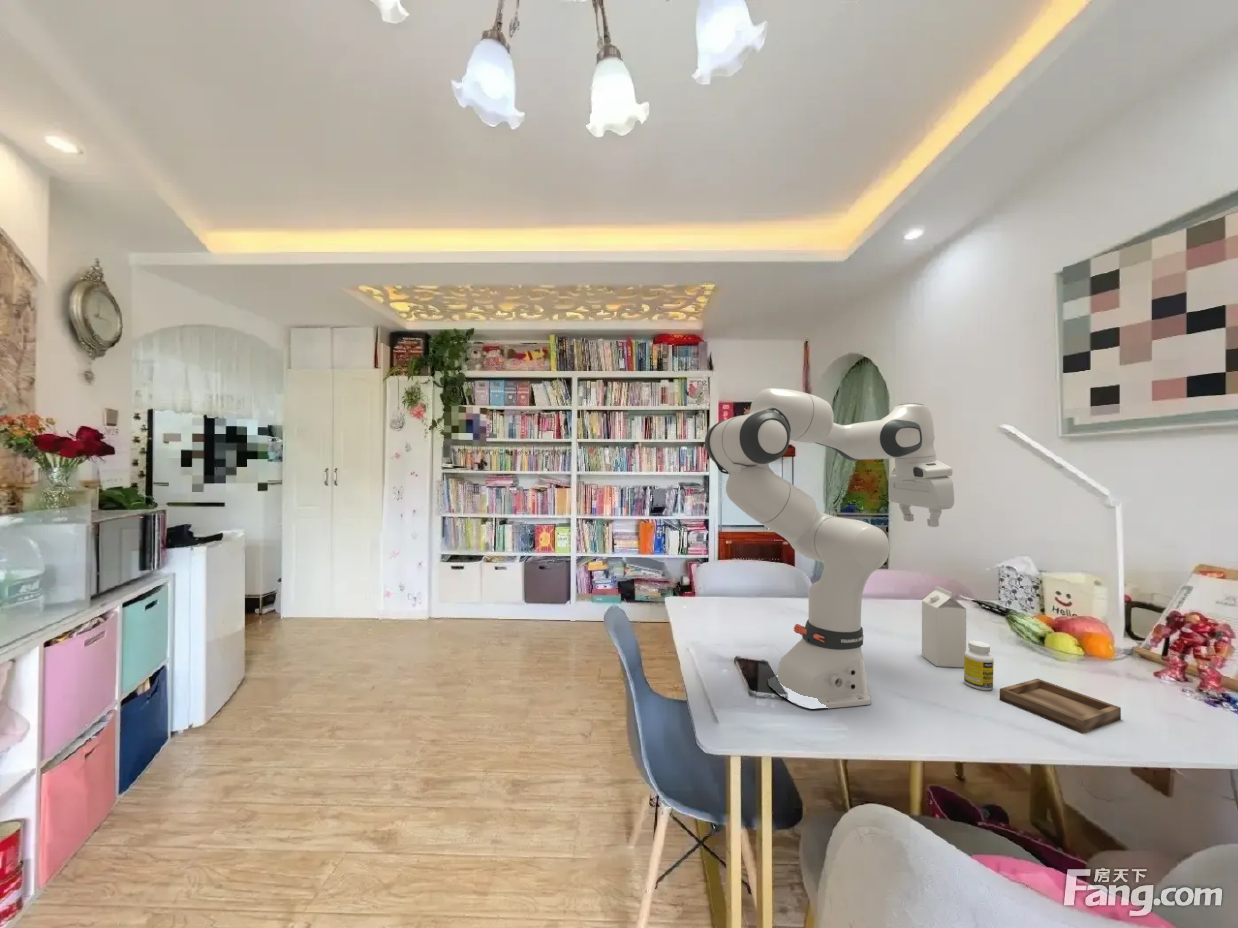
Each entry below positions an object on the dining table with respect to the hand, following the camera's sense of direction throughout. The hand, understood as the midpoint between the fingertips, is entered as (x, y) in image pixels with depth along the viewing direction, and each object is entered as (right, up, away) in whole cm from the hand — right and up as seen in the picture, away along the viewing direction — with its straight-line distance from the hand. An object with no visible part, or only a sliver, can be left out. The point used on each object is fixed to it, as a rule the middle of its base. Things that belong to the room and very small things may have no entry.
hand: (920, 523), depth 117 cm
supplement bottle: (+8, -37, -8) cm, 39 cm away
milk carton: (+9, -37, +5) cm, 39 cm away
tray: (+17, -37, -18) cm, 44 cm away
